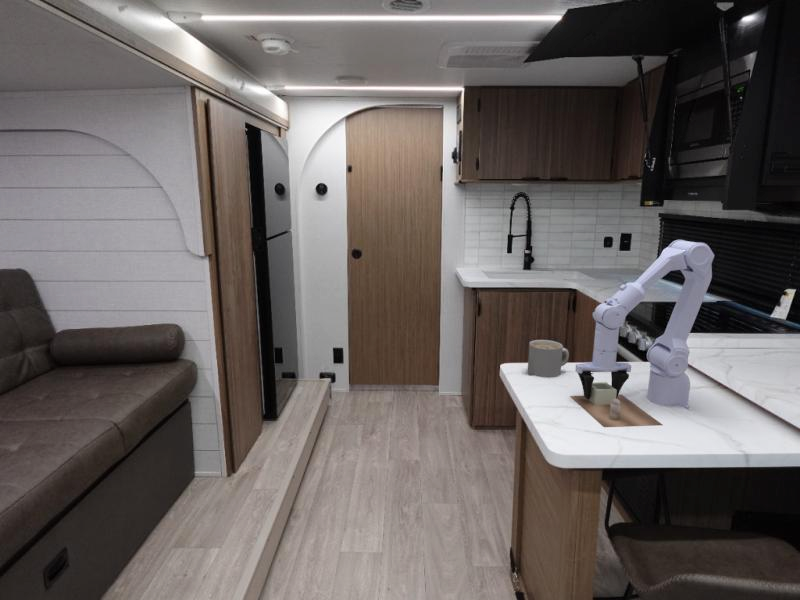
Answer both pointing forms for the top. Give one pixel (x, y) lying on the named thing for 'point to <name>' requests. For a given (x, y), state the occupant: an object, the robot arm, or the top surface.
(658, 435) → the top surface
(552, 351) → the coffee mug
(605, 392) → the collar
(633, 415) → the post board
